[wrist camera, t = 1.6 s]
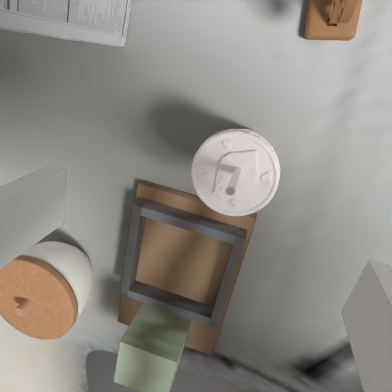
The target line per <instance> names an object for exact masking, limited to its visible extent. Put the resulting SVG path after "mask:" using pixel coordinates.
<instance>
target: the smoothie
mask: <svg viewBox="0 0 392 392" xmlns="http://www.w3.org/2000/svg"><path fill="white" fill-rule="evenodd" d="M191 179H192V183H193V187H194V189H195V191H196V193H197V195H198V196H199V198H200V199H201V200H202V201H203V202H204V203H205V204H206V205H207V206H208V207H209V208H211V209H213V210H214V211H216V212H218V213H221V214H224V215H229V216H244V215H249V214H252V213H254V212H256V211H258V210H260V209H262V208H263V207H264V206H265V205H267V204H268V203H269V201H270V200H271V199H272V198H273V196H274V194H275V192H276V190H277V187H278V183H279V179H280V165H279V160H278V157H277V155H276V153H275V151H274V149H273V147H272V146H271V145H270V144H269V143H268V142H267V141H266V140H265V139H264V138H262V136H261V135H260V134H259V133H258V132H256V131H254V130H252V129H227V130H223V131H219V132H217V133H216V134H214V135H212V136H210V137H209V138H208V139H207V140H206V141H205V142H204V143H203V144H201V146H200V148H199V149H198V151H197V152H196V154H195V156H194V159H193V162H192V167H191Z"/></svg>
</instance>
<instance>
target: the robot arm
mask: <svg viewBox="0 0 392 392" xmlns="http://www.w3.org/2000/svg"><path fill="white" fill-rule="evenodd" d="M65 186H66V170H64V169H61V168H58V167H54V166H48V167H46V168H43V169H41V170H39V171H36V172H34V173H31V174H29V175H27V176H24V177H22V178H19V179H17V180H15V181H12V182H10V183H7V184H5V185H3V186H0V269H1V268H2V267H4V266H5V265H7V264H8V263H9V262H11V261H12V260H14V259H15V258H16V257H18V256H19V255H21V254H22V253H23V252H25V251H26V250H27V249H29V248H30V247H32V246H33V245H34V244H36V243H37V242H39V241H40V240H41V239H43V238H44V237H46V236H47V235H48V234H50V233H51V232H53V231H54V230H55V229H57V228H58V227H60V226H61V225H62V224H64V208H65ZM341 313H342V316H343V320H344V323H345V327H346V331H347V334H348V338H349V341H350V345H351V348H352V352H353V356H354V359H355V363H356V366H357V370H358V373H359V377H360V381H361V384H362V388H363V391H364V392H392V270H391V268H390V266H389V265H386V264H382V263H379V262H376V261H372V260H368V262H367V264H366V266H365V268H364V270H363V272H362V274H361V276H360V277H359V279H358V281H357V283H356V285H355V287H354V289H353V291H352V293H351V295H350V297H349V299H348V301H347V302H346V304H345V306H344V308H343V310H342V312H341Z"/></svg>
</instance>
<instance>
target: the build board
mask: <svg viewBox="0 0 392 392" xmlns="http://www.w3.org/2000/svg"><path fill="white" fill-rule="evenodd" d="M256 216H257V214H255V213H252V214H249V215H244V216H229V215H224V214H221V213H218V212H216V211H214V210H213V209H211V208H209V207H208V206H207V205H206V204H205V203H204V202H203V201H202V200H201V199H200V198H199V197H197V196H194V195H190V194H187V193H184V192H180V191H177V190H173V189H170V188H167V187H163V186H160V185H156V184H153V183H150V182H146V181H143V180H142V181H141V182H139V183H138V186H137V193H136V200H135V203H134V204H133V205H132V212H131V219H130V226H129V233H128V240H127V247H126V254H125V261H124V267H123V274H122V281H121V288H120V294H121V301H120V308H119V314H118V322H120V323H123V324H126V325H129V327H128V329H127V331H126V333H125V334H124V336H123V338H122V339H121V341H120V346H119V352H118V359H117V365H116V371H115V378H114V382H116V383H119V384H121V385H124V386H126V387H129V388H132V389H134V390H136V391H139V392H170V390H171V387H172V384H173V381H174V378H175V375H176V372H177V369H178V366H179V363H180V360H181V357H182V354H183V351H184V348H185V346H187V347H189V348H192V349H195V350H198V351H200V352H203V353H206V354H209V355H211V356H212V353H213V350H214V347H215V344H216V341H217V337H218V334H219V331H220V328H221V325H222V322H223V319H224V316H225V313H226V310H227V307H228V304H229V301H230V298H231V294H232V291H233V288H234V285H235V282H236V279H237V276H238V273H239V270H240V267H241V264H242V261H243V258H244V255H245V251H246V248H247V245H248V242H249V239H250V236H251V233H252V230H253V227H254V224H255V221H256Z"/></svg>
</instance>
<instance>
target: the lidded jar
mask: <svg viewBox="0 0 392 392" xmlns="http://www.w3.org/2000/svg"><path fill="white" fill-rule="evenodd" d="M92 290H93V272H92V268H91V263H90V261H89V259H88V257H87V256H86V254H85V253H84V252H83V251H82V250H80V249H79V248H78V247H76V246H74V245H71V244H66V243H63V242H57V241H46V242H40V243H36V244H34V245H33V246H32V247H30V248H29V249H27V250H26V251H25V252H23V253H22V254H21V255H19V256H18V257H16V258H15V259H14V260H12V261H11V262H9V263H8V264H7V265H5V266H4V267H2V268H1V269H0V314H1V316H2V317H3V318H4V319H5V320H6V321H7V322H8V323H9V324H10V325H12V326H13V327H14V328H16V329H17V330H19V331H20V332H22V333H24V334H26V335H28V336H31V337H34V338H38V339H46V340H48V339H55V338H59V337H61V336H63V335H65V334H66V333H67V332H68V331H69V330H70V328H71V327H72V326H73V324H74V323H75V321H76V319H77V318H78V317H79V315H80V314H81V313H82V311H83V310H84V308H85V307H86V305H87V303H88V301H89V299H90V296H91V294H92Z"/></svg>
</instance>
